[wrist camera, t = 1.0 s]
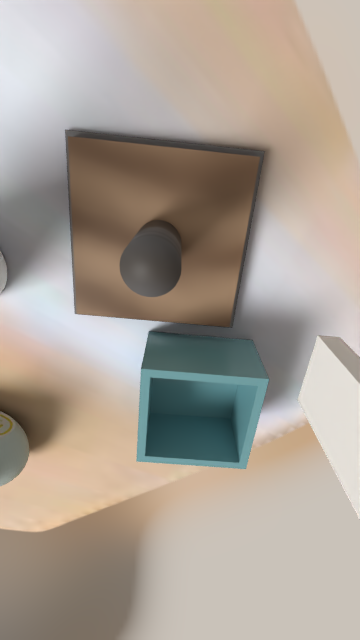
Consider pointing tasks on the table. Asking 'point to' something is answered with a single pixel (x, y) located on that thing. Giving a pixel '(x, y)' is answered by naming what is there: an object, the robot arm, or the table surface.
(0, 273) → the milk bottle
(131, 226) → the lid
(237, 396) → the teal storage bin
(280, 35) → the table surface
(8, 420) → the air freshener
